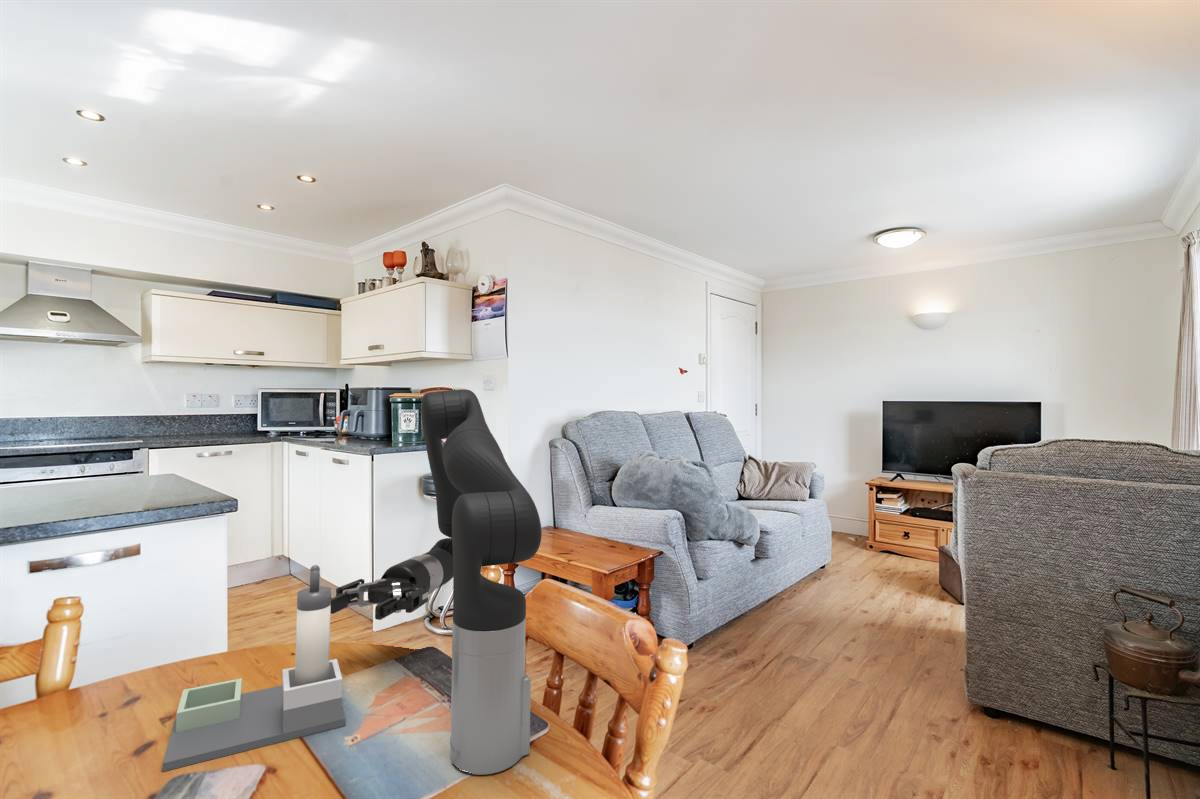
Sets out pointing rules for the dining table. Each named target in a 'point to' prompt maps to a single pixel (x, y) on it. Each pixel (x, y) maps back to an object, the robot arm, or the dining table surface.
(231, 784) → the dining table surface
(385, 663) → the dining table surface
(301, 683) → the plug
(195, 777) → the dining table surface
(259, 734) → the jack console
